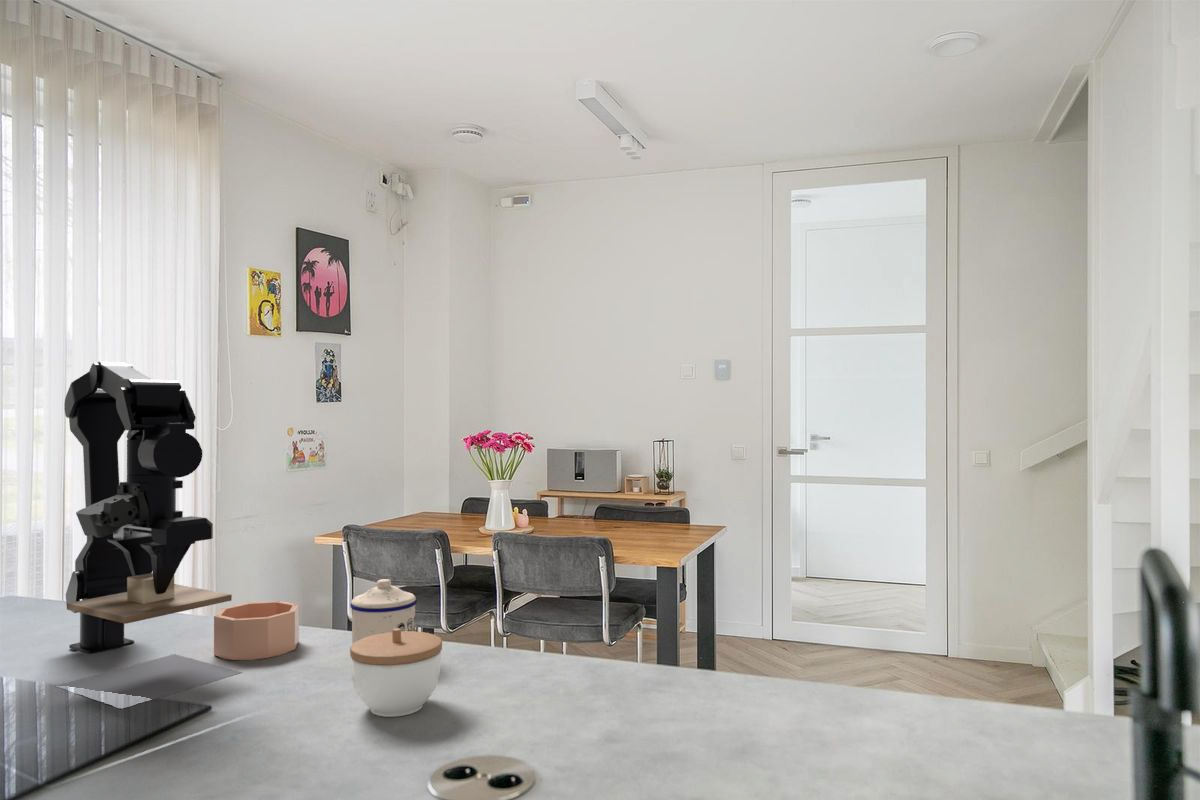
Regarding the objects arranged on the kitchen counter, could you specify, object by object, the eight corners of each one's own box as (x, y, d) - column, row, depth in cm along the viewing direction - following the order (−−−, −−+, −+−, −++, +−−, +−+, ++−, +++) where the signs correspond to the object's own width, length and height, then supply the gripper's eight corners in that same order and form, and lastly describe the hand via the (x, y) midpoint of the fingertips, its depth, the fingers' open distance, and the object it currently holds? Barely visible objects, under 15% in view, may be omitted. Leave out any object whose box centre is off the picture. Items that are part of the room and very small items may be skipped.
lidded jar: (419, 728, 91) (419, 644, 91) (332, 721, 93) (332, 639, 93) (455, 695, 101) (455, 620, 101) (376, 689, 103) (376, 616, 104)
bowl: (200, 654, 119) (200, 613, 119) (266, 636, 128) (266, 598, 128) (247, 666, 113) (247, 623, 113) (312, 646, 122) (312, 607, 122)
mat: (53, 688, 104) (53, 685, 104) (174, 656, 118) (174, 654, 118) (121, 711, 96) (121, 709, 96) (242, 674, 110) (242, 672, 110)
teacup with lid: (400, 674, 109) (399, 588, 109) (338, 670, 111) (338, 585, 111) (434, 649, 121) (434, 571, 121) (378, 646, 123) (378, 569, 123)
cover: (66, 609, 105) (66, 580, 105) (172, 589, 117) (172, 562, 117) (125, 623, 97) (125, 592, 98) (231, 600, 109) (231, 572, 109)
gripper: (49, 475, 105) (49, 595, 105) (128, 481, 96) (127, 613, 95) (136, 470, 115) (135, 580, 115) (215, 474, 105) (215, 595, 105)
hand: (151, 591), depth 107 cm, fingers closed on cover, 4 cm apart
